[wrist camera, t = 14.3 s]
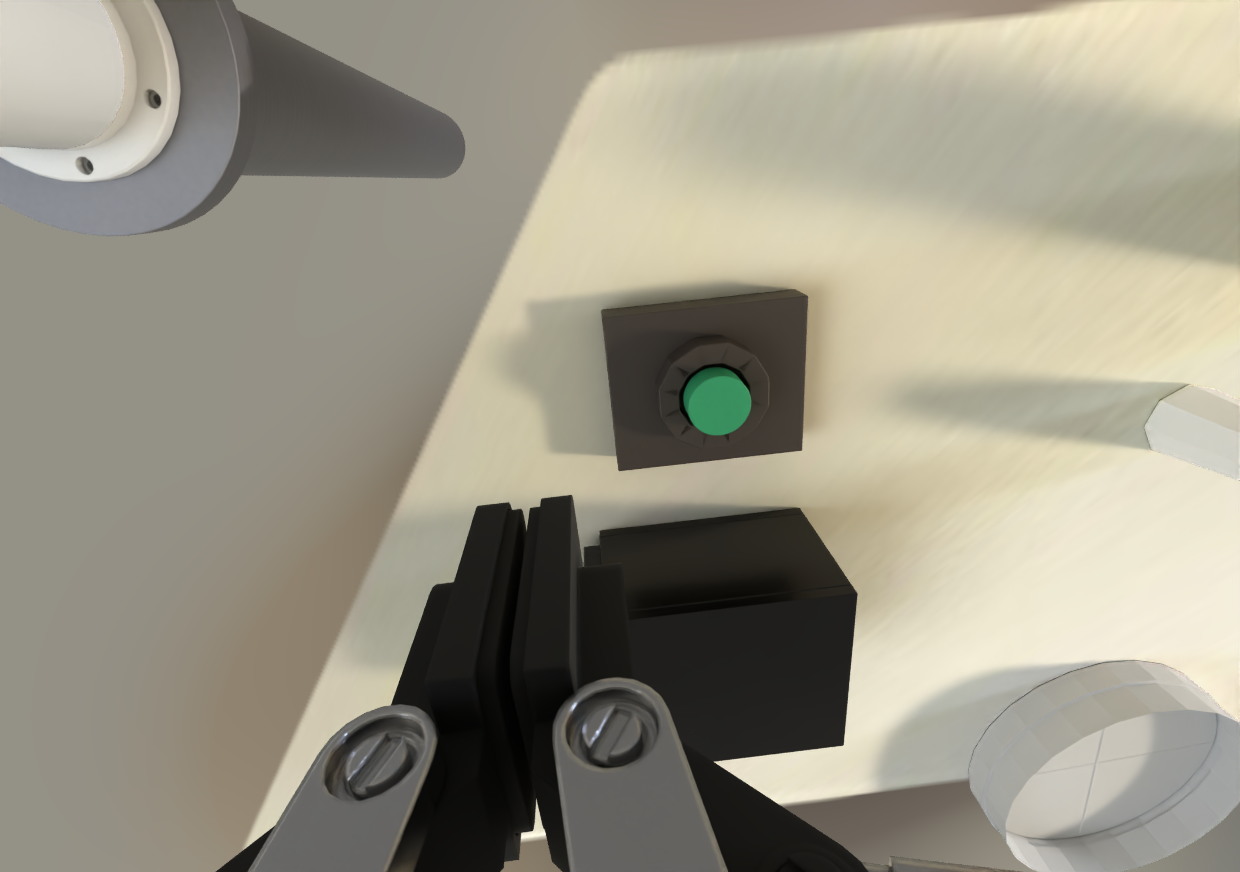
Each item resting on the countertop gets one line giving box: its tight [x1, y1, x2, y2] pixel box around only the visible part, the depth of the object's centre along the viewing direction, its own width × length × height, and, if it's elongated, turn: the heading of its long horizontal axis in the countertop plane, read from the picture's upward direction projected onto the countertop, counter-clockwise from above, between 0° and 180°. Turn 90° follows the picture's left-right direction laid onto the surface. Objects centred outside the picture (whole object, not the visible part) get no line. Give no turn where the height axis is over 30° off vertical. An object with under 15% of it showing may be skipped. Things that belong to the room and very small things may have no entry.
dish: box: [968, 660, 1240, 872], centre depth 53 cm, size 22×22×5 cm
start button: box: [683, 367, 751, 435], centre depth 34 cm, size 4×4×2 cm
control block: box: [601, 290, 808, 471], centre depth 36 cm, size 10×12×4 cm
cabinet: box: [599, 508, 857, 762], centre depth 40 cm, size 15×13×10 cm
